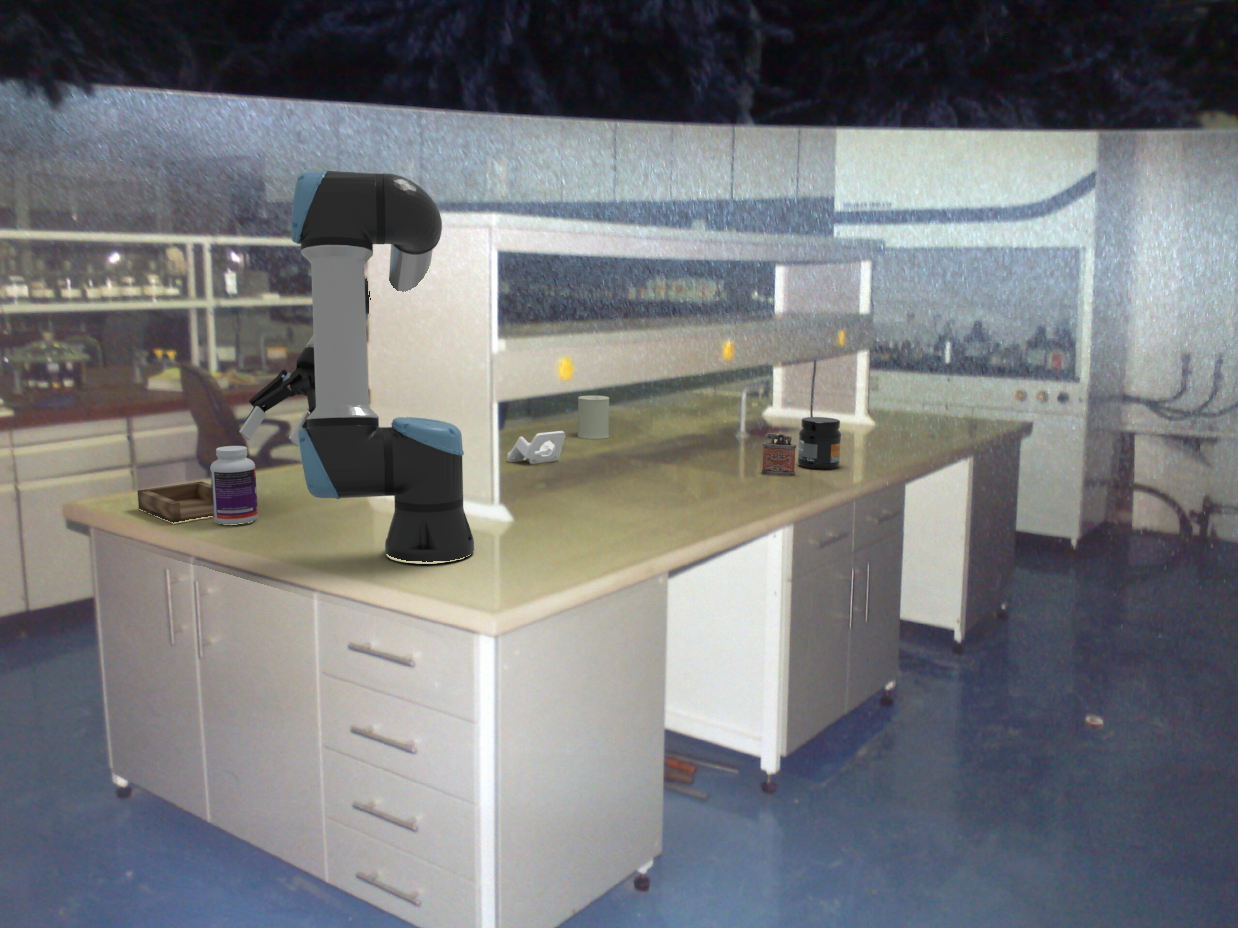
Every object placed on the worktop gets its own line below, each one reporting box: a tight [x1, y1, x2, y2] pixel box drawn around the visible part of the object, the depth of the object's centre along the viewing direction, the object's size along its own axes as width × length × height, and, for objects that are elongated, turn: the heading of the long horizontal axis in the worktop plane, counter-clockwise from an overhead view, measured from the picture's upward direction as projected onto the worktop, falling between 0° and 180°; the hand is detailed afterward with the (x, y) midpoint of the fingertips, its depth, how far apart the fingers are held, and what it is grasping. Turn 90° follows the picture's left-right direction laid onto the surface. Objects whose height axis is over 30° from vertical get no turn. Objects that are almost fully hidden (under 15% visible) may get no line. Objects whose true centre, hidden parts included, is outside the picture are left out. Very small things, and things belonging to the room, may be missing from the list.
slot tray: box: [137, 481, 213, 523], centre depth 206 cm, size 16×13×4 cm
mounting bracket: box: [506, 430, 566, 465], centre depth 263 cm, size 12×6×11 cm, turn 128°
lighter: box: [761, 433, 797, 477], centre depth 252 cm, size 8×3×10 cm, turn 74°
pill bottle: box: [209, 445, 259, 525], centre depth 198 cm, size 8×8×14 cm
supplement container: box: [797, 416, 842, 471], centre depth 263 cm, size 10×10×12 cm
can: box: [577, 395, 610, 440], centre depth 302 cm, size 9×9×12 cm
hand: (268, 439), depth 205 cm, fingers open, 13 cm apart
